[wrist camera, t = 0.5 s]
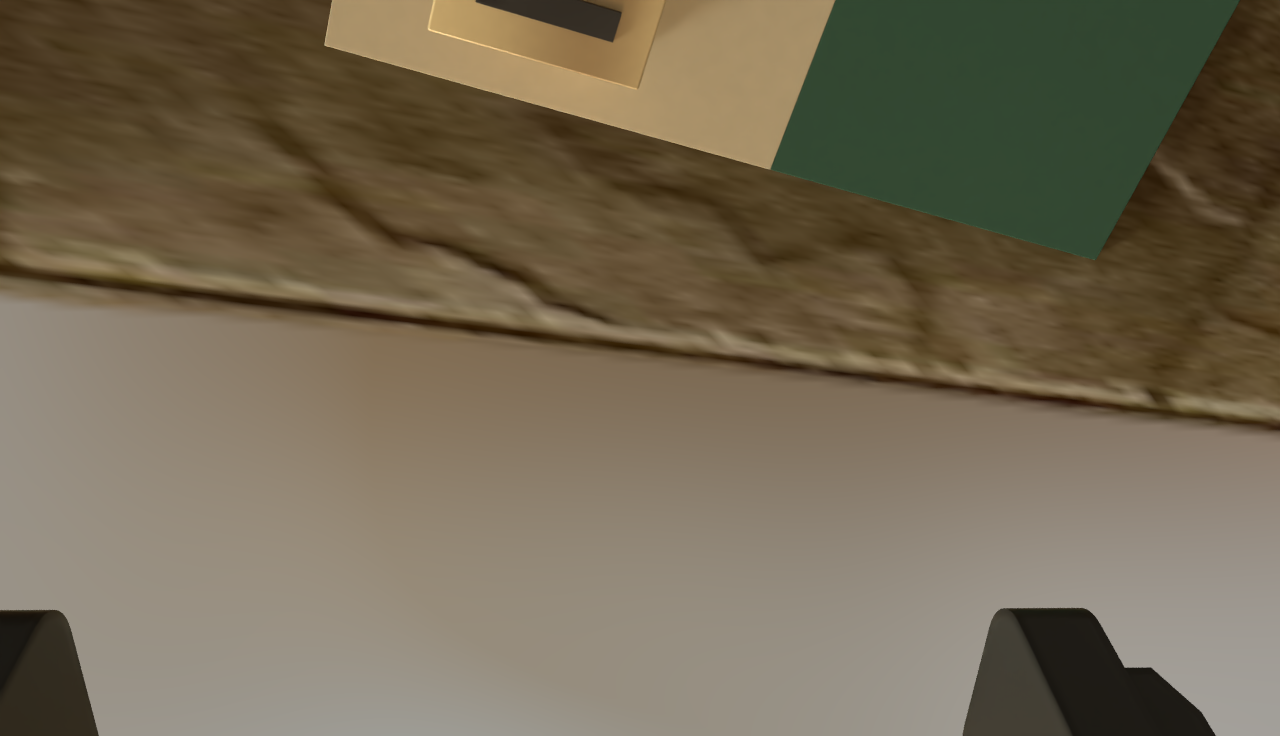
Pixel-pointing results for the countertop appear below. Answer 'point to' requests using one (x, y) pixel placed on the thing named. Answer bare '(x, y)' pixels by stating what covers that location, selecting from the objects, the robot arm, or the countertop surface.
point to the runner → (881, 95)
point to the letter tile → (560, 32)
